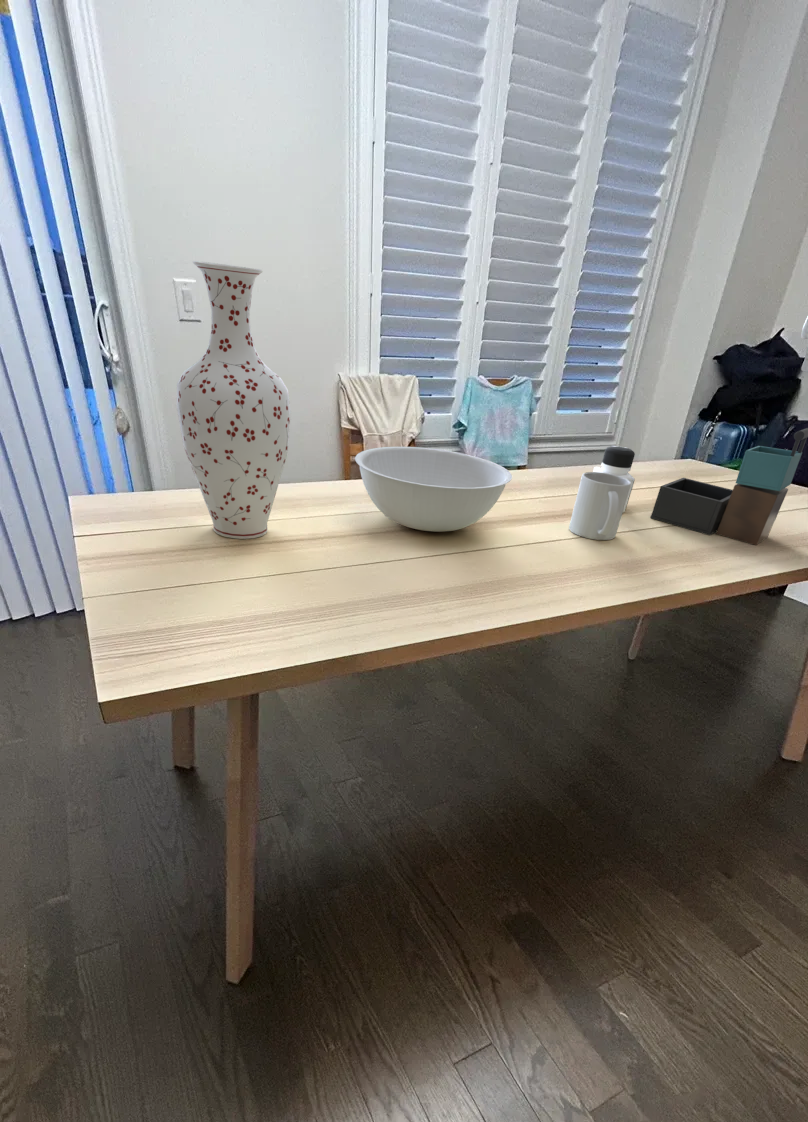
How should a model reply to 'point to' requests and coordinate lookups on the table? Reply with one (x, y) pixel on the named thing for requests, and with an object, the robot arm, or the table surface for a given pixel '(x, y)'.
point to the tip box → (771, 465)
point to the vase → (234, 412)
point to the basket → (691, 505)
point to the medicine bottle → (618, 464)
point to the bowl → (431, 486)
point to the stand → (750, 513)
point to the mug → (599, 505)
